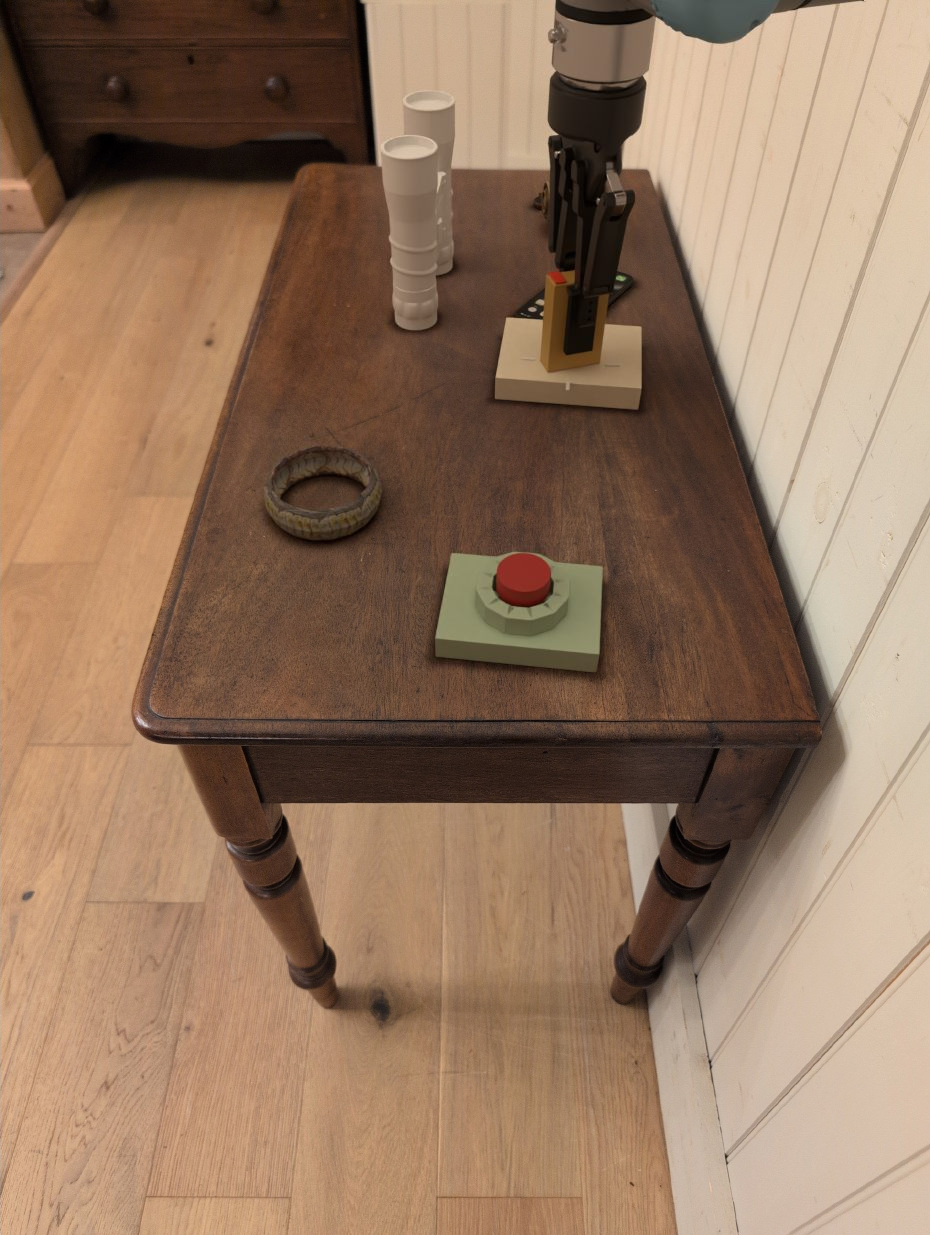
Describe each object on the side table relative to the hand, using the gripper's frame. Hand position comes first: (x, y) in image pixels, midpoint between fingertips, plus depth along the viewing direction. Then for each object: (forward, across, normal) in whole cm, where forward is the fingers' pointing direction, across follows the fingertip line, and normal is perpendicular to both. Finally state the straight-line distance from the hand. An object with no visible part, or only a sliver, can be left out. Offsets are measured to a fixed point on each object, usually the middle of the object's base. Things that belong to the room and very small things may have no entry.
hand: (572, 342), depth 89 cm
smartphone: (+5, -15, +7) cm, 17 cm away
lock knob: (+2, 0, 0) cm, 2 cm away
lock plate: (+5, -2, +1) cm, 5 cm away
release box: (+5, +28, -15) cm, 32 cm away
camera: (+5, -32, +12) cm, 34 cm away
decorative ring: (+5, +11, -27) cm, 29 cm away
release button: (+1, +28, -15) cm, 32 cm away
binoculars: (+5, -22, -9) cm, 24 cm away
